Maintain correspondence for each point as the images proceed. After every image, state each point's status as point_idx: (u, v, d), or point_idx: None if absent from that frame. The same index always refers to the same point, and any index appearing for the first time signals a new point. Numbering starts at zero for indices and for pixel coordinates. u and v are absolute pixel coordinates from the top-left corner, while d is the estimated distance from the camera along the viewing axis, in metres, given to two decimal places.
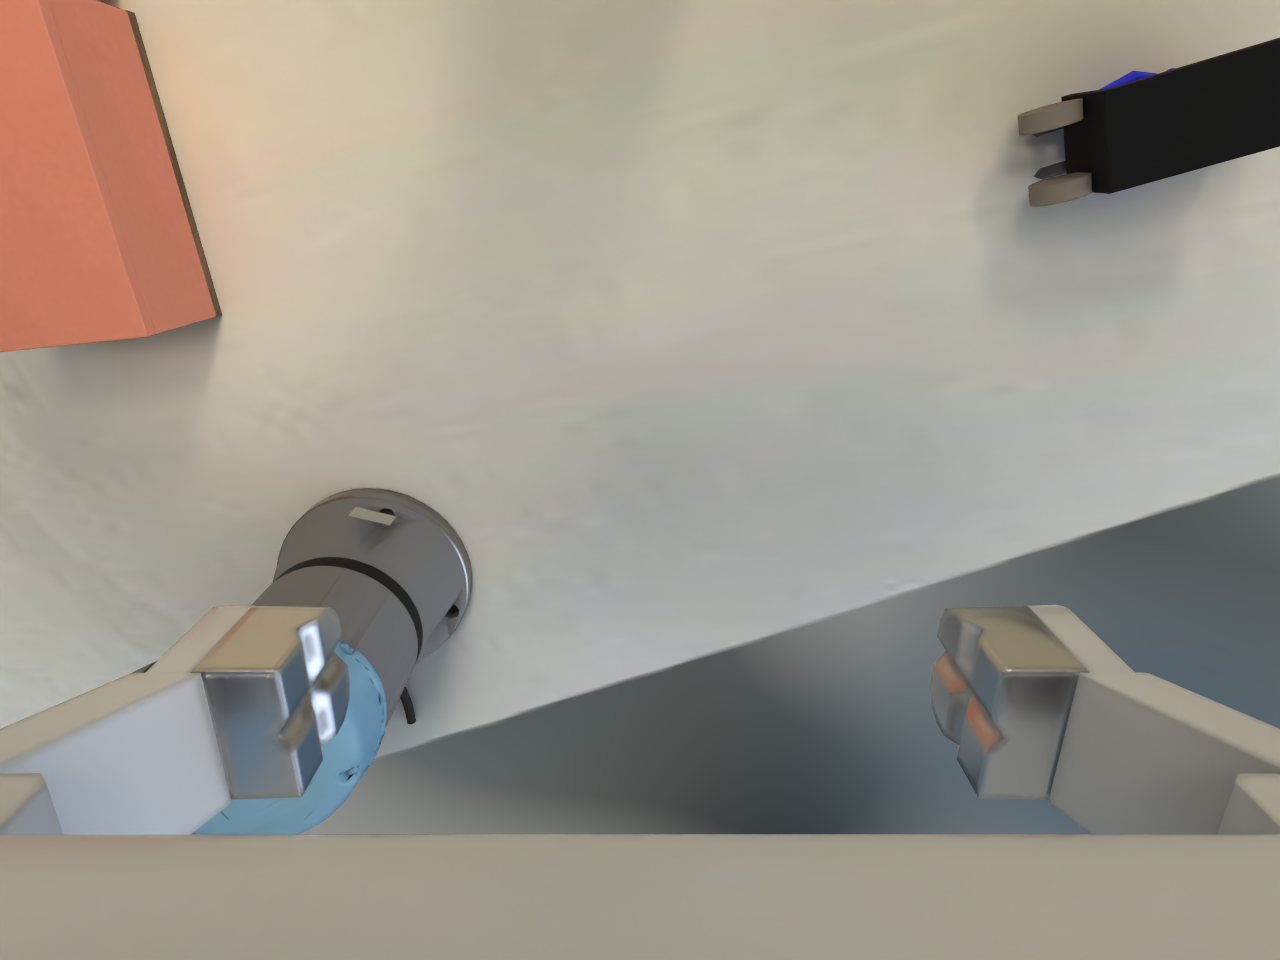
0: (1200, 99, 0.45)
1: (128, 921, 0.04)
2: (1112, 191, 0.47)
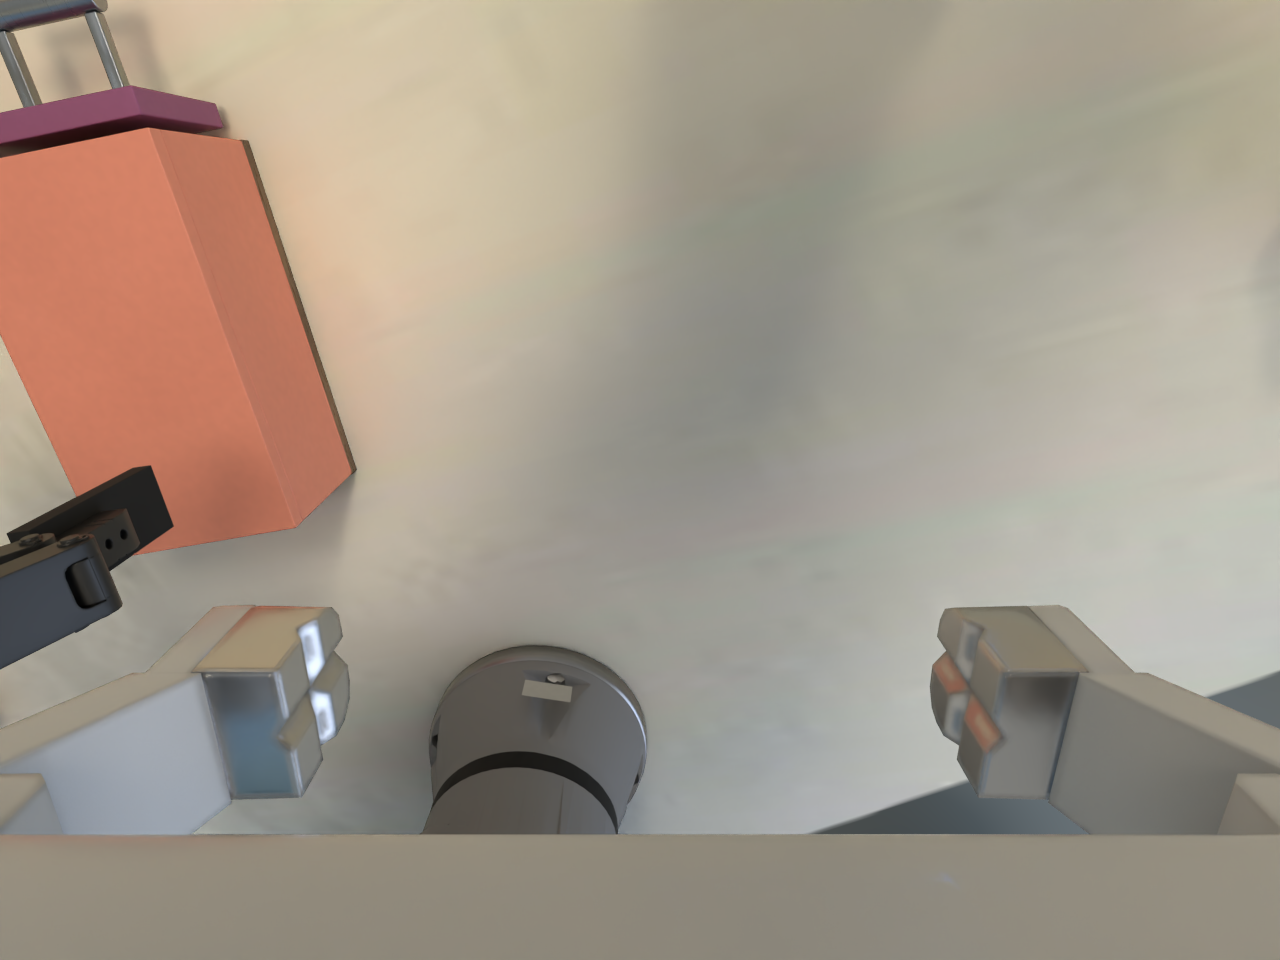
0: None
1: (128, 921, 0.04)
2: None
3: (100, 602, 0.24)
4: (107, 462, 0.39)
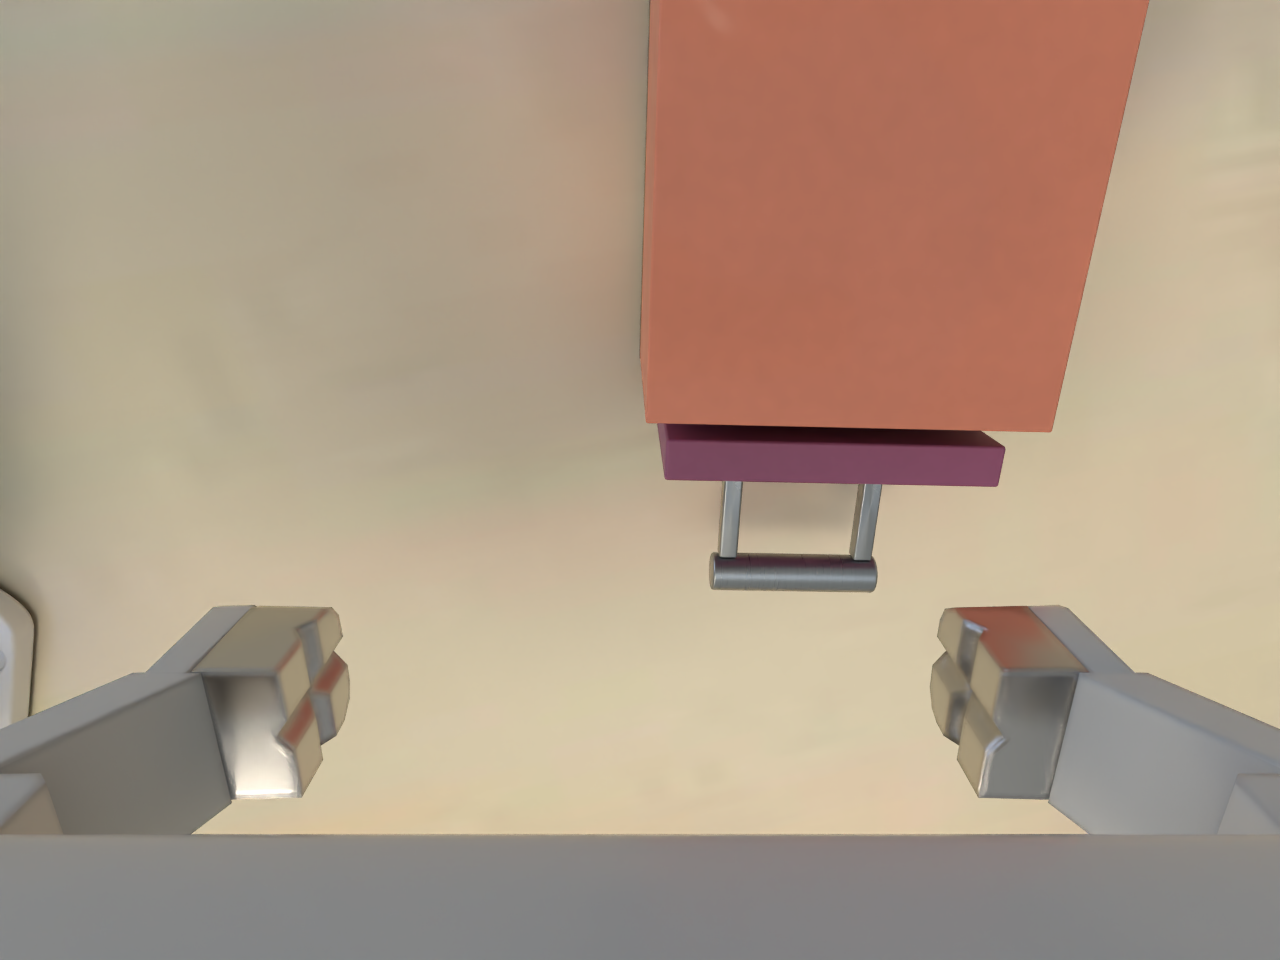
0: None
1: (128, 921, 0.04)
2: None
3: None
4: None
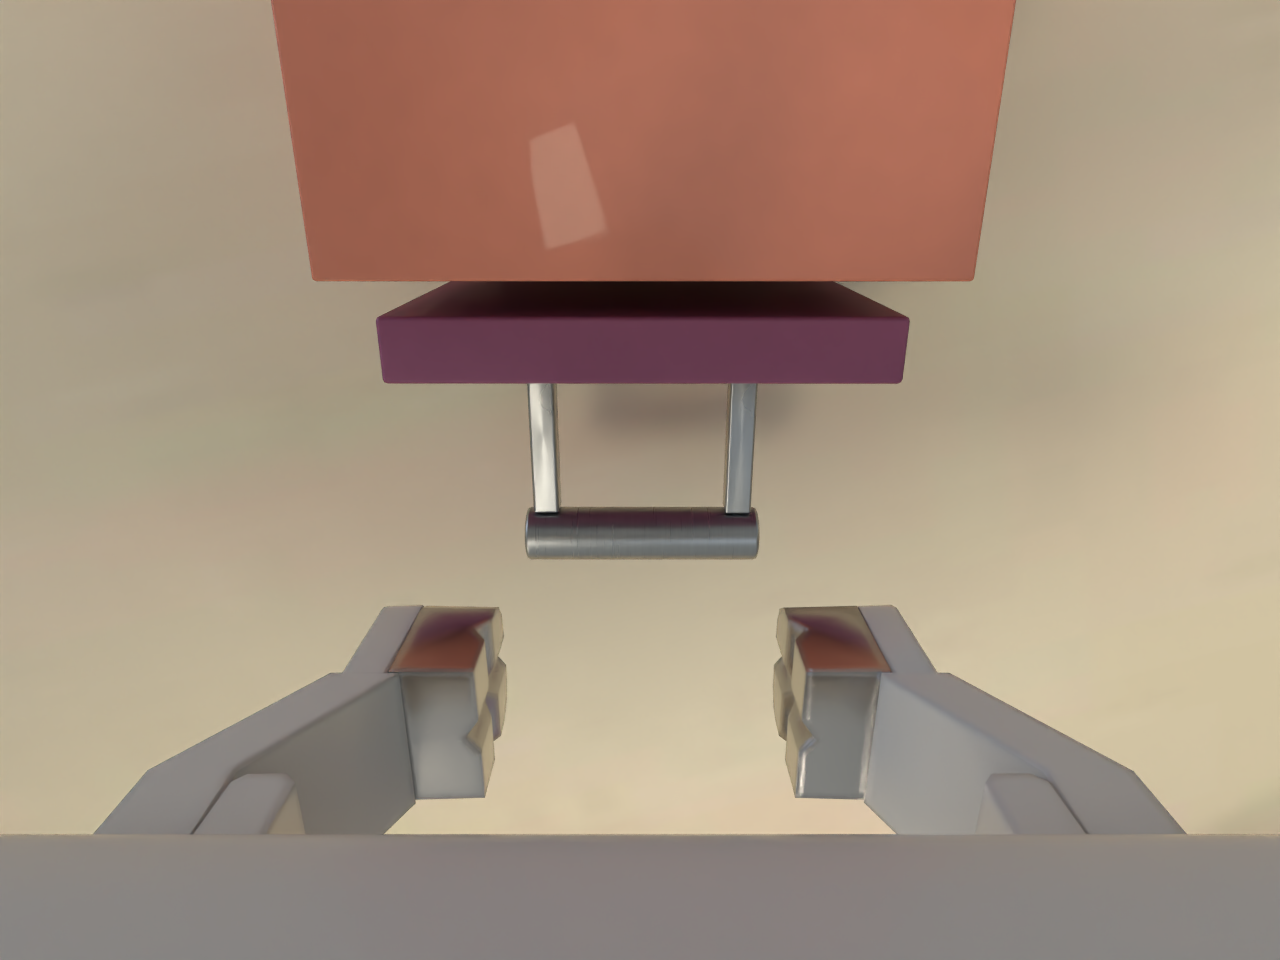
0: None
1: (128, 921, 0.04)
2: None
3: None
4: None
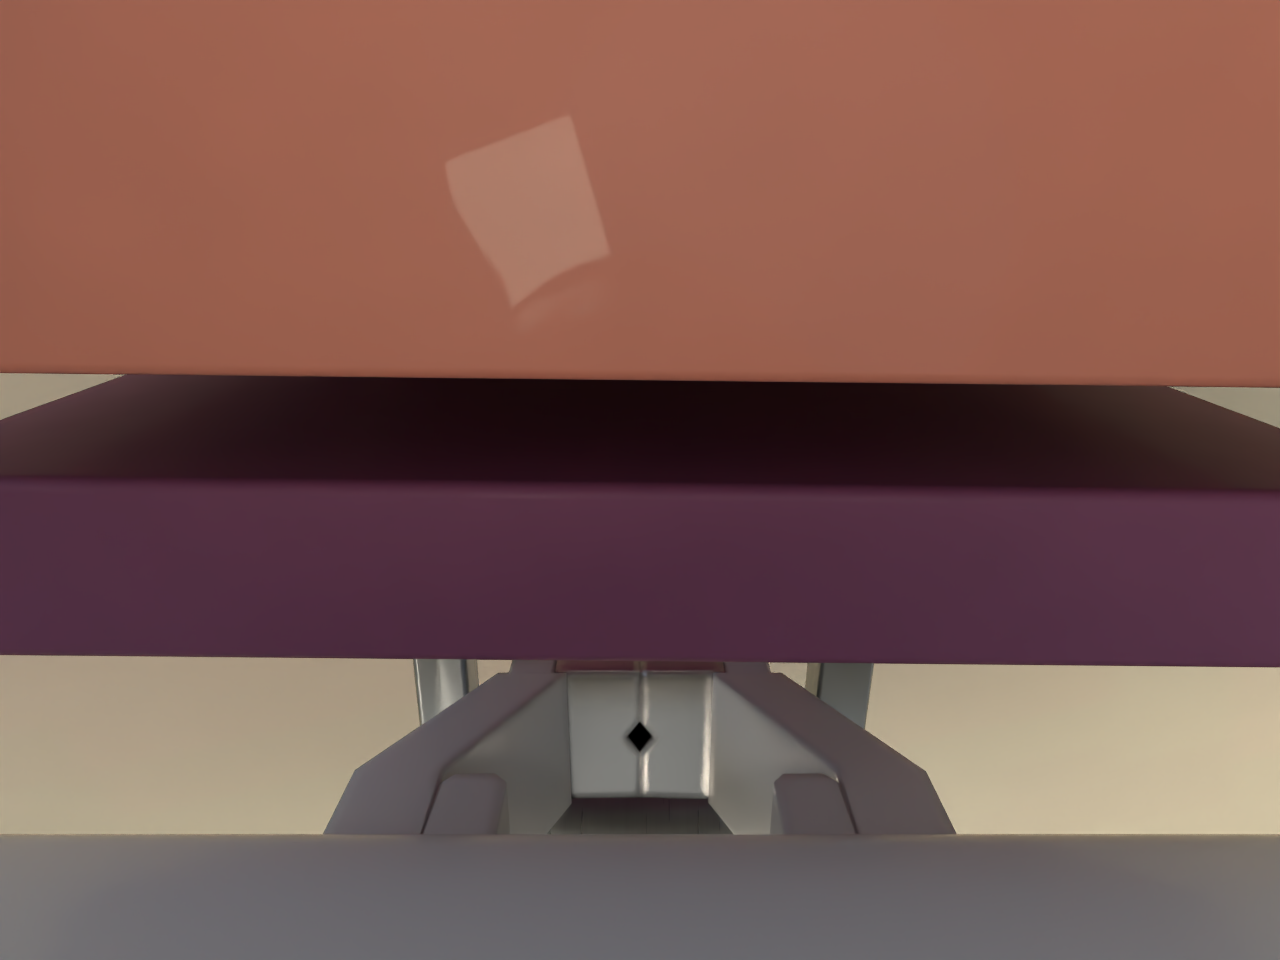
0: None
1: (128, 921, 0.04)
2: None
3: None
4: None
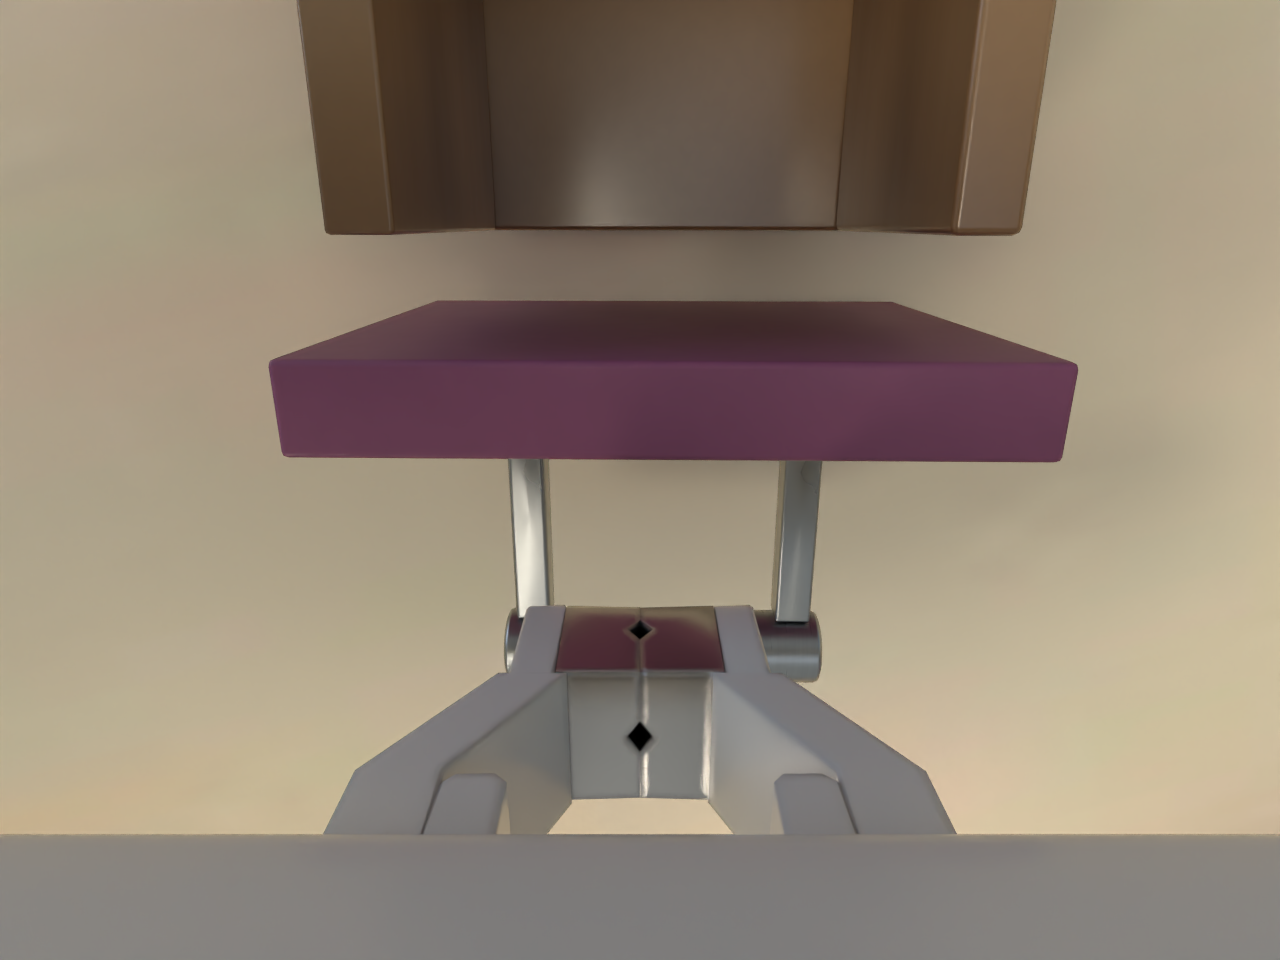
0: None
1: (129, 921, 0.04)
2: None
3: None
4: None
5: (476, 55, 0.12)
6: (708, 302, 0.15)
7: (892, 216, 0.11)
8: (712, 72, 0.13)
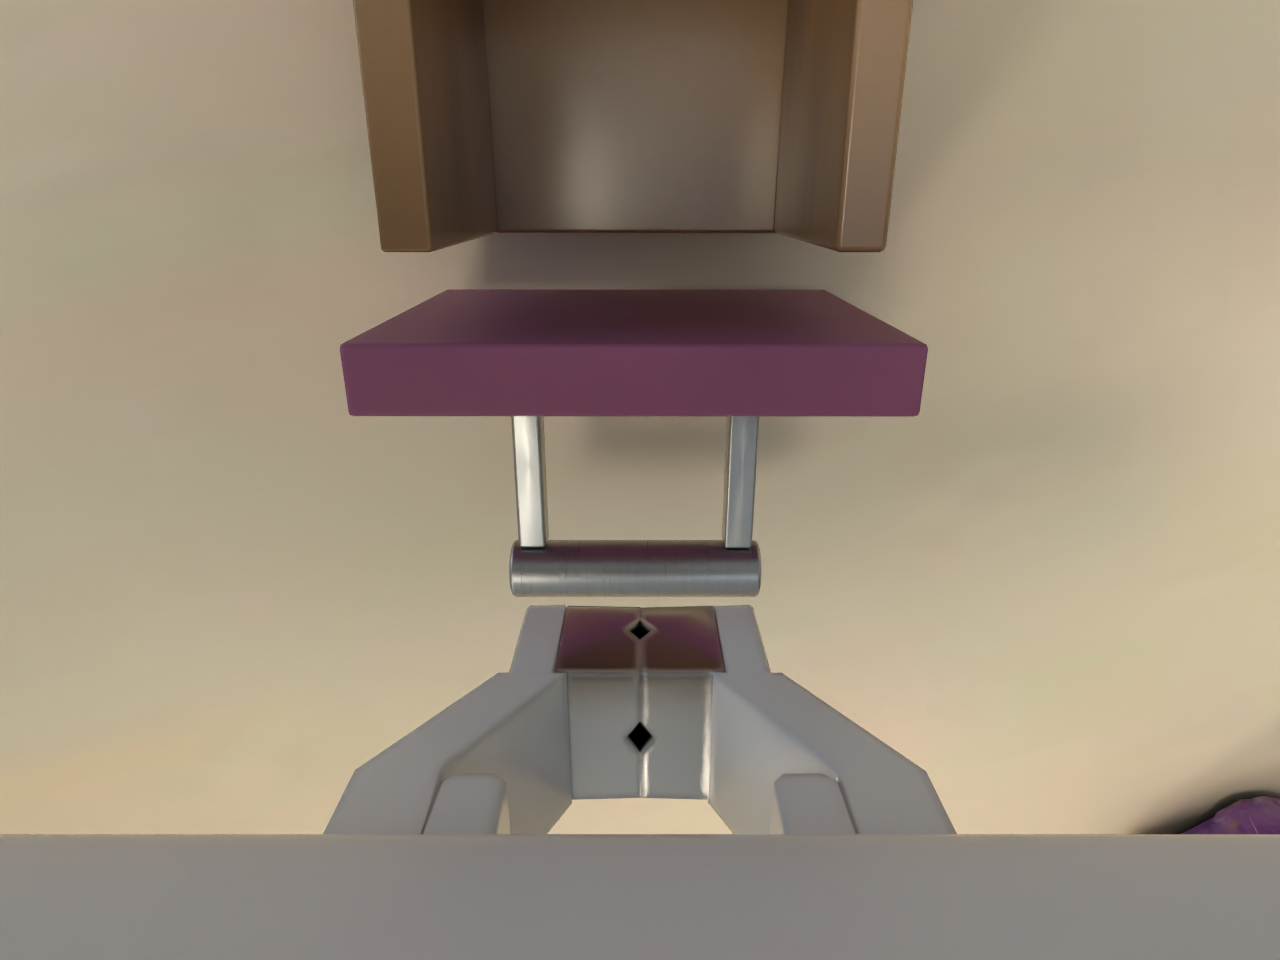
0: None
1: (129, 921, 0.04)
2: None
3: None
4: None
5: (482, 94, 0.15)
6: (672, 291, 0.18)
7: (806, 230, 0.14)
8: (672, 105, 0.16)
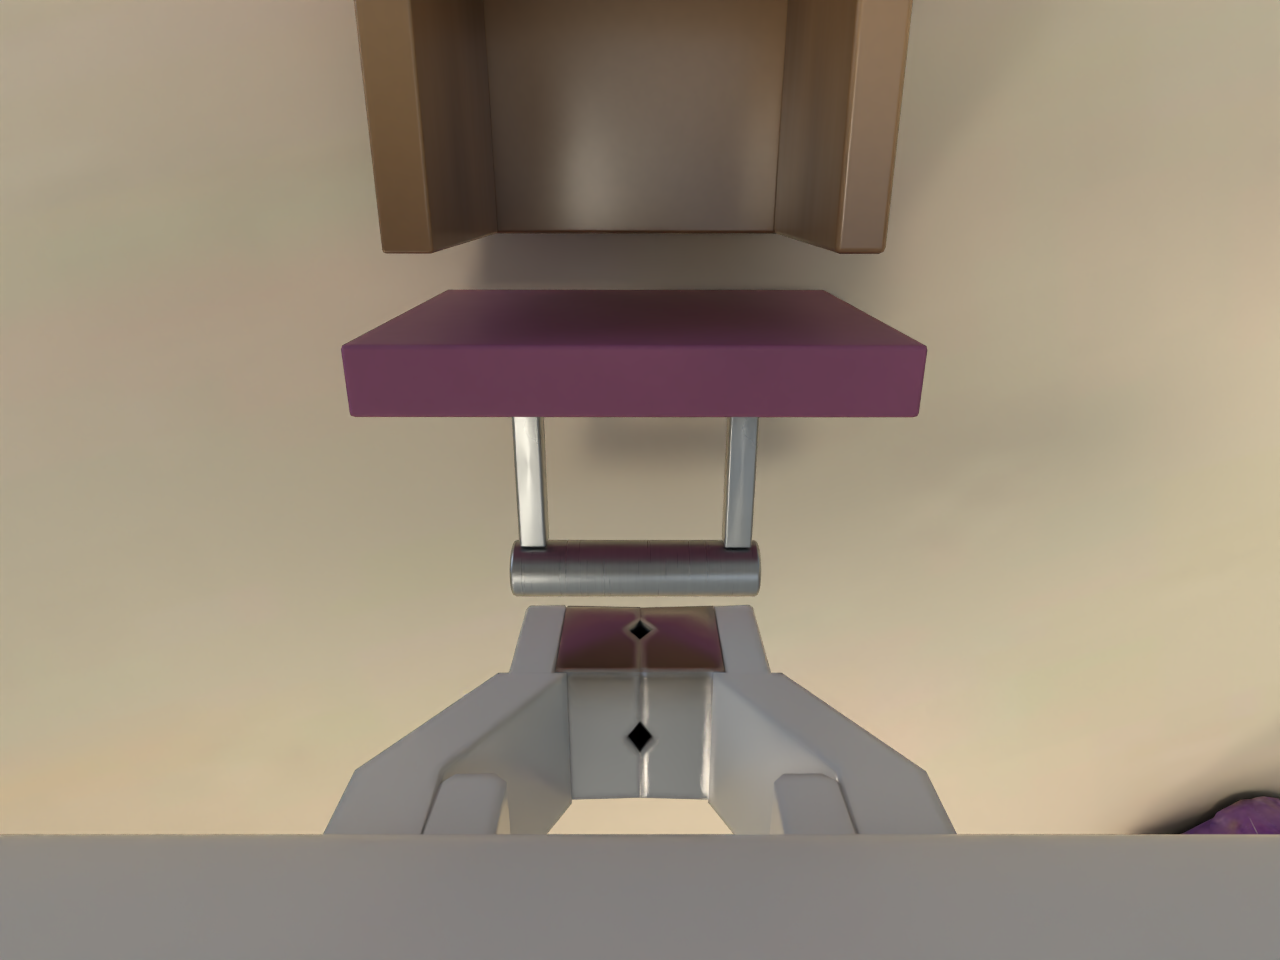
0: None
1: (128, 921, 0.04)
2: None
3: None
4: None
5: (482, 95, 0.16)
6: (672, 291, 0.18)
7: (805, 231, 0.14)
8: (672, 106, 0.16)
